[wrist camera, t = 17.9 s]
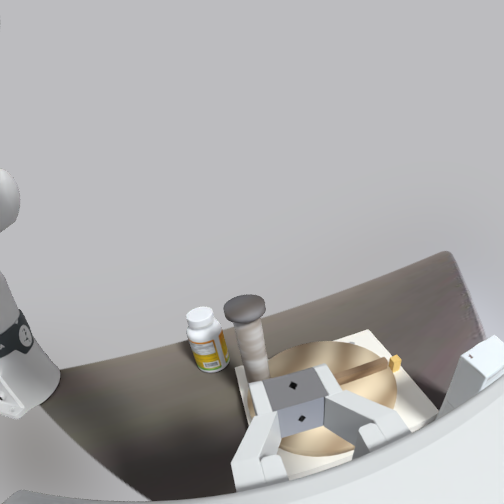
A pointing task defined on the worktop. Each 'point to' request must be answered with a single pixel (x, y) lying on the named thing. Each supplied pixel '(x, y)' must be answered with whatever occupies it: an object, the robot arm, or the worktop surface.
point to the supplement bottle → (207, 340)
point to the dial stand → (407, 406)
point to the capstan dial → (305, 356)
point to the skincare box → (474, 373)
